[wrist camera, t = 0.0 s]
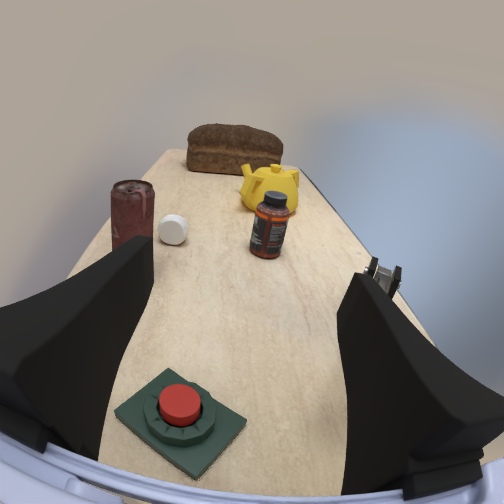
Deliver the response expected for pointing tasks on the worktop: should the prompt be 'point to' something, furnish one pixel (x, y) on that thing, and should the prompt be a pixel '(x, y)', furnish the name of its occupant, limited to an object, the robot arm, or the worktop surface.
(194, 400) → the button
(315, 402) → the worktop surface
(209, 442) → the button box
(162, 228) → the white short cylinder
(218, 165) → the bread
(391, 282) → the bracket
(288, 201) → the teapot
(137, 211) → the can
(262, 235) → the supplement bottle
